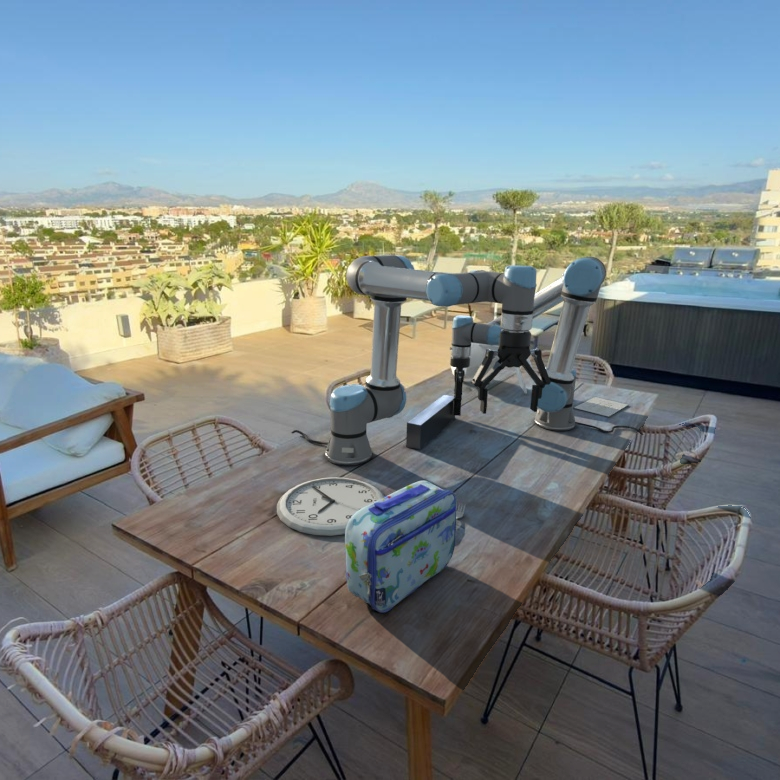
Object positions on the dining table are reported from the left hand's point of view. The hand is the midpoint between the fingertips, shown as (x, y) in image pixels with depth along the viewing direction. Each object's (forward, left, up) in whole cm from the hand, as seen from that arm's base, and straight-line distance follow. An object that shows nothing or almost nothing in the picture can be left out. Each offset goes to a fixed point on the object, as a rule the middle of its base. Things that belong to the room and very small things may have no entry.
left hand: (508, 411), depth 135 cm
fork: (-7, -15, -28) cm, 32 cm away
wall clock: (-39, -24, -28) cm, 54 cm away
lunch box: (-7, -42, -28) cm, 51 cm away
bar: (-40, +40, -28) cm, 63 cm away
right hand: (-39, +57, -26) cm, 74 cm away
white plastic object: (-42, +106, -28) cm, 117 cm away
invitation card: (+8, +106, -28) cm, 110 cm away
